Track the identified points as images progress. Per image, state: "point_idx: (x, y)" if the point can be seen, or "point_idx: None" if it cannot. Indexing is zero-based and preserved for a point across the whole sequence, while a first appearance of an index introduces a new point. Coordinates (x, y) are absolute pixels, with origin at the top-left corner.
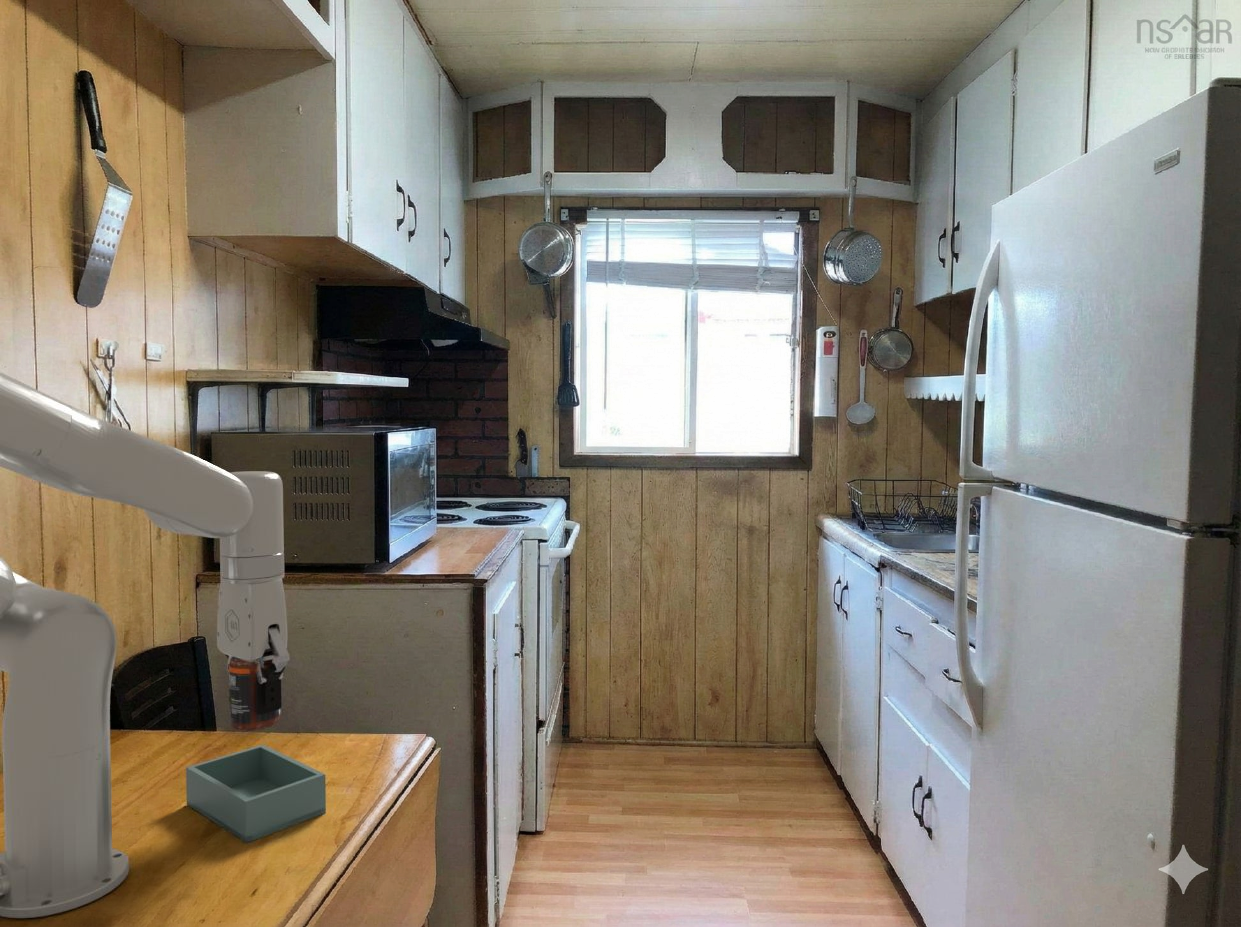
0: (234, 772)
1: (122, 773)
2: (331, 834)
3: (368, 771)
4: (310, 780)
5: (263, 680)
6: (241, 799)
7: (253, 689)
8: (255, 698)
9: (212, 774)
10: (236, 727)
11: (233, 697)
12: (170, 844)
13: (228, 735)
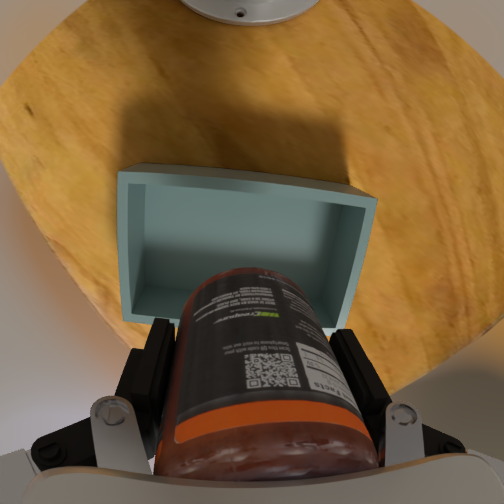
0: (337, 269)
1: (495, 204)
2: (77, 252)
3: None
4: (121, 294)
5: (93, 408)
6: (135, 172)
7: (175, 376)
8: (156, 350)
9: (349, 234)
10: (238, 268)
11: (257, 319)
12: (239, 91)
13: (464, 339)
